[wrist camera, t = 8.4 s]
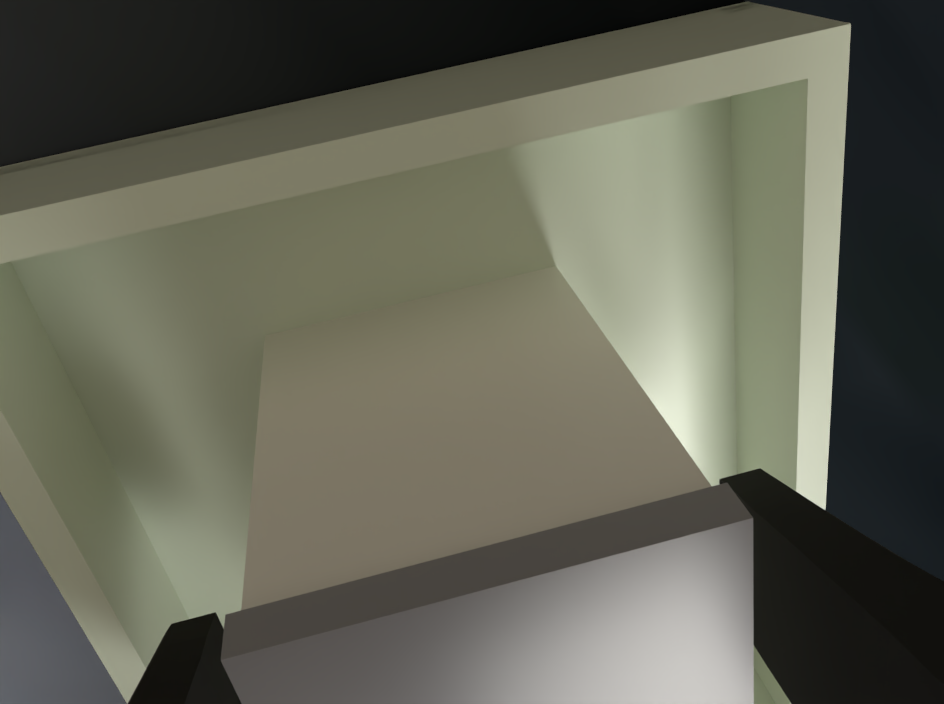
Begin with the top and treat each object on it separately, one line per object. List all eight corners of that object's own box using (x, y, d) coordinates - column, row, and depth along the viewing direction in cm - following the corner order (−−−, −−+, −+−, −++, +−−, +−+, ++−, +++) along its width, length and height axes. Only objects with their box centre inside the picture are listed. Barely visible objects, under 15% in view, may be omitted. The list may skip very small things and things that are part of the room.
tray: (751, 636, 18) (813, 736, 16) (252, 775, 17) (245, 901, 15) (746, 1, 11) (850, 23, 9) (-55, 179, 11) (-145, 248, 8)
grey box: (608, 618, 16) (754, 958, 11) (378, 680, 16) (415, 1061, 11) (562, 258, 12) (753, 518, 7) (256, 331, 12) (220, 659, 7)
